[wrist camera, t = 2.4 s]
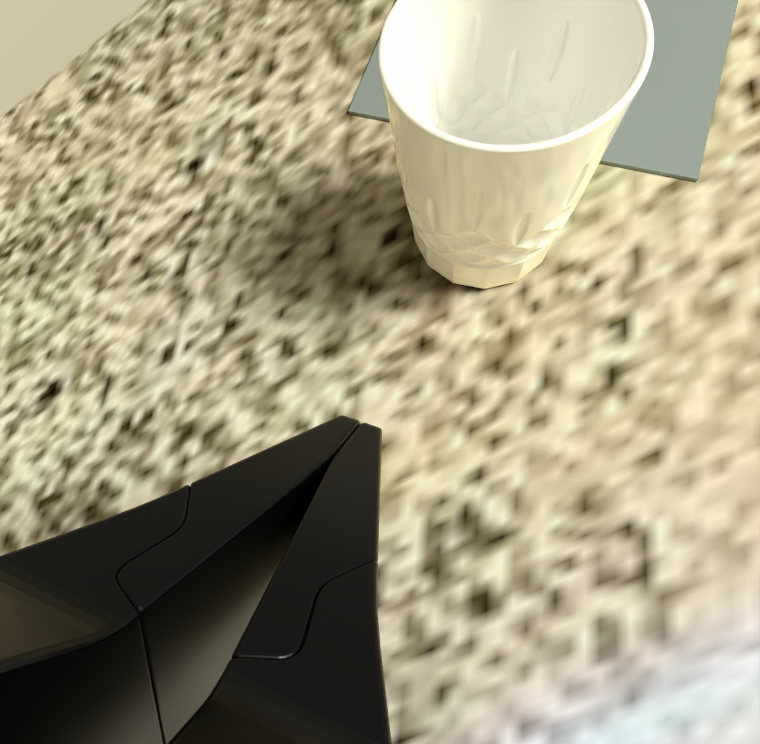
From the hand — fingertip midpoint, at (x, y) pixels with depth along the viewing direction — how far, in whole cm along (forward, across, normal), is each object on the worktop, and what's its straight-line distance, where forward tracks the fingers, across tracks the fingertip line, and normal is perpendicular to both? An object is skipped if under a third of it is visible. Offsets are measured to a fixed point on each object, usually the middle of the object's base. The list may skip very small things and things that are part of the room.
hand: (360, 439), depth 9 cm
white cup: (+18, 0, 0) cm, 18 cm away
